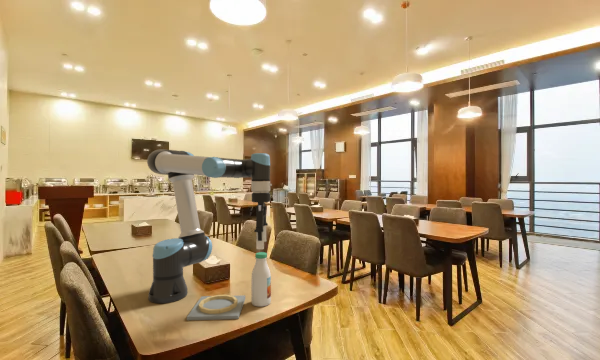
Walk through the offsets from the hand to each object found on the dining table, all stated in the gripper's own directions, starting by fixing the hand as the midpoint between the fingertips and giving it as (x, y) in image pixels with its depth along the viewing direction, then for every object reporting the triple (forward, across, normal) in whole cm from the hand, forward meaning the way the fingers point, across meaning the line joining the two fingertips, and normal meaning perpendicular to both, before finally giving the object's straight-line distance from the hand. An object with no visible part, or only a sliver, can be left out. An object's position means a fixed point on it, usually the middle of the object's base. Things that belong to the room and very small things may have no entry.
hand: (261, 245), depth 117 cm
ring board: (+23, -4, +16) cm, 29 cm away
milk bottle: (+23, 0, 0) cm, 23 cm away
